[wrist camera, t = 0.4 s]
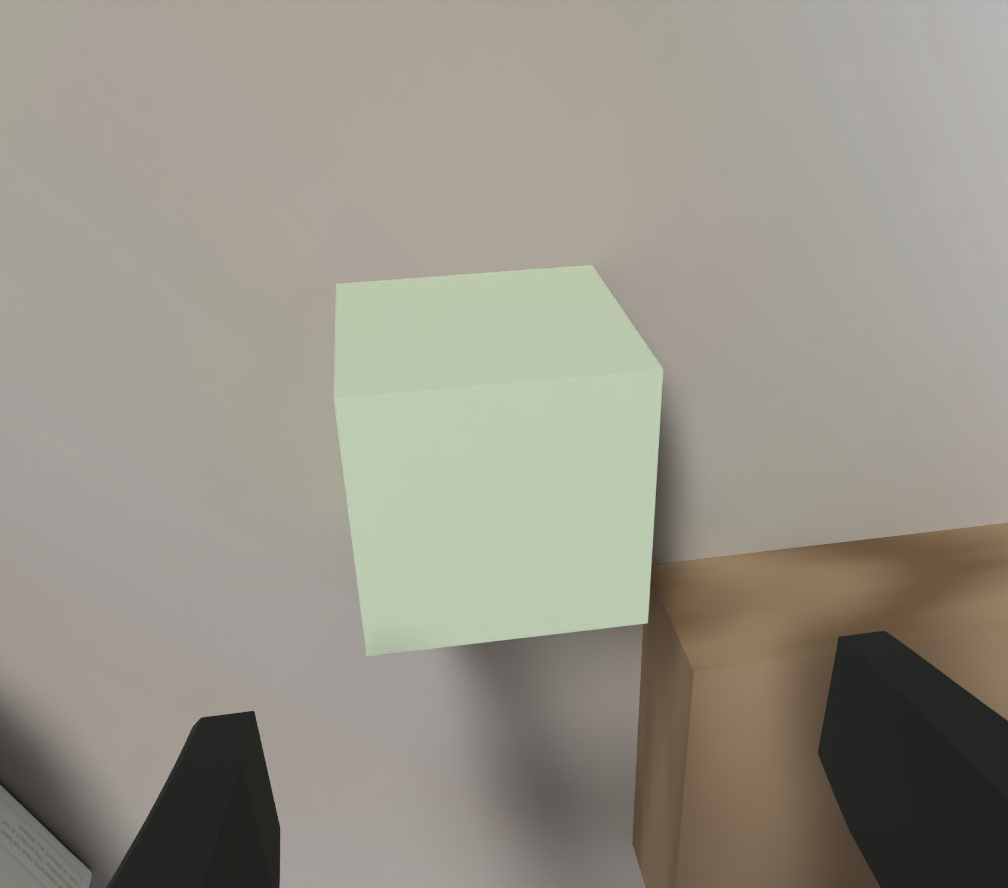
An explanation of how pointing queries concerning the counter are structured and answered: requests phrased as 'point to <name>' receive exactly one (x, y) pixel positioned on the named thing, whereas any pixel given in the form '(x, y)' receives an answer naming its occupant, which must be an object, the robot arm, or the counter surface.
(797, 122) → the counter surface
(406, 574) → the sage cube
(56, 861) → the supplement box
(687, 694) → the walnut block
